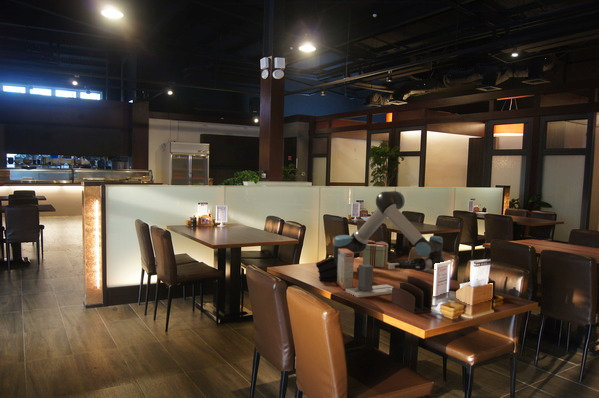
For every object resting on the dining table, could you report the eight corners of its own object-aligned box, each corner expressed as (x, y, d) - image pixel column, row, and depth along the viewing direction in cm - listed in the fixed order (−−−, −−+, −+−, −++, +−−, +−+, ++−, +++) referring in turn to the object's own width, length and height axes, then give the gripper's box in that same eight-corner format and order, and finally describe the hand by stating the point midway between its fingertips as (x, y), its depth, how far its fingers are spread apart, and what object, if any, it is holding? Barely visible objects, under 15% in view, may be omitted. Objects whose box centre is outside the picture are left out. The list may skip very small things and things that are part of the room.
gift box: (388, 263, 316) (389, 239, 315) (384, 268, 299) (385, 243, 298) (365, 261, 322) (366, 238, 321) (359, 265, 305) (360, 241, 304)
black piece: (343, 278, 258) (333, 256, 257) (323, 288, 257) (313, 266, 255) (341, 277, 262) (332, 255, 260) (322, 286, 261) (312, 264, 259)
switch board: (386, 286, 249) (387, 284, 249) (400, 292, 238) (400, 289, 238) (345, 291, 237) (345, 288, 237) (357, 297, 226) (357, 294, 226)
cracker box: (353, 289, 241) (354, 252, 240) (342, 290, 240) (344, 252, 239) (346, 283, 255) (347, 248, 253) (336, 283, 254) (337, 248, 252)
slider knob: (366, 287, 239) (367, 263, 238) (372, 290, 234) (373, 266, 233) (357, 288, 236) (358, 264, 236) (363, 291, 231) (364, 267, 230)
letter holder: (407, 300, 224) (408, 273, 223) (431, 312, 205) (433, 283, 204) (390, 301, 220) (392, 274, 220) (413, 314, 202) (415, 284, 201)
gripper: (429, 272, 245) (396, 276, 235) (413, 267, 257) (381, 270, 246) (430, 259, 244) (396, 262, 234) (414, 255, 256) (382, 257, 246)
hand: (389, 266), depth 240 cm, fingers closed
